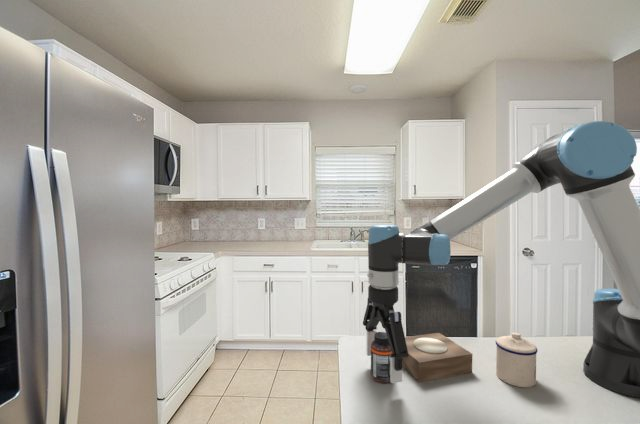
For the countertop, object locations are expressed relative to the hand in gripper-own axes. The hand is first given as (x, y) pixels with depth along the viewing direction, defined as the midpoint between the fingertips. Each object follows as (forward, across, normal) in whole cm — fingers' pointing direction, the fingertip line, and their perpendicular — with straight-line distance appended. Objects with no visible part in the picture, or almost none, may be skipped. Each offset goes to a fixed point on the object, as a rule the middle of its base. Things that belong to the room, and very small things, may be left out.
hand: (382, 367), depth 81 cm
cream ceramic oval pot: (+3, +8, +33) cm, 34 cm away
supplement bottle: (+3, 0, 0) cm, 3 cm away
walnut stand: (+3, -3, +16) cm, 17 cm away
